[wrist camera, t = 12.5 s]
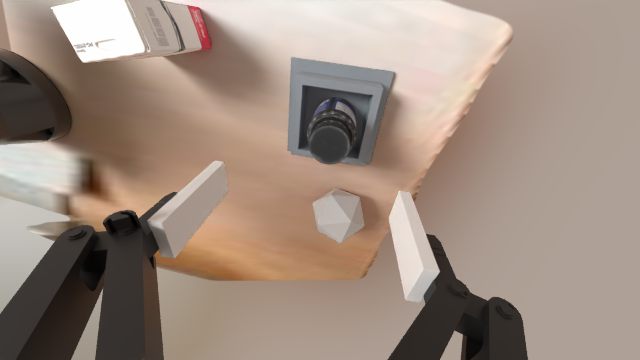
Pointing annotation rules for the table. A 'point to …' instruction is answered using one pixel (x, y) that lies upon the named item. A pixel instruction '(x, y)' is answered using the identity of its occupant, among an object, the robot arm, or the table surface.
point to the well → (342, 82)
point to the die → (338, 214)
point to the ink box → (131, 29)
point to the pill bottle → (332, 131)
